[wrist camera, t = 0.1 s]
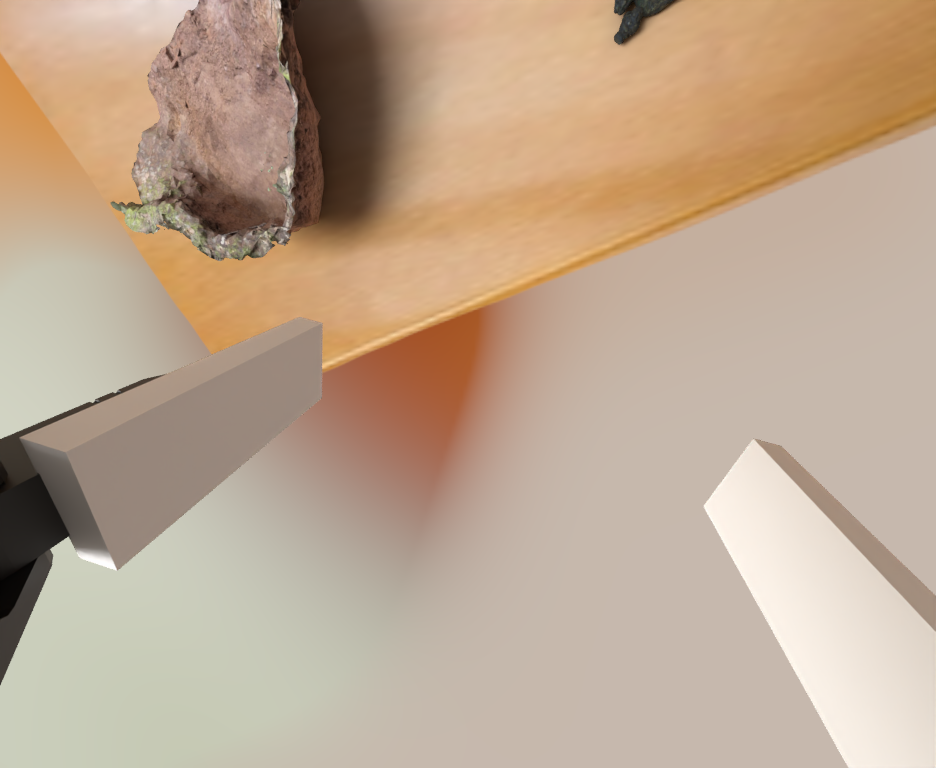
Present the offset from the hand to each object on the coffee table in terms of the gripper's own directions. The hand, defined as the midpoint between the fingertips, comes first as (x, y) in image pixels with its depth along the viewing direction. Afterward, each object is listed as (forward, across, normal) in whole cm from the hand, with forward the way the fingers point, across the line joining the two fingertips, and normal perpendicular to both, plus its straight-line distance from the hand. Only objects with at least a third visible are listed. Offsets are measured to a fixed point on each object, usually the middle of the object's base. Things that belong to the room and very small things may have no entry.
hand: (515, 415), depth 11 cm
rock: (+28, -27, +6) cm, 40 cm away
